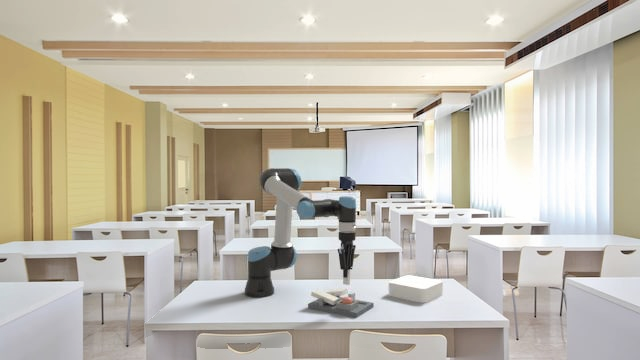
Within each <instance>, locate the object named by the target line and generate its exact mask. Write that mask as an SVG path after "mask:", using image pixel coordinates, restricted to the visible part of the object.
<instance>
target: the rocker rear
mask: <svg viewBox="0 0 640 360" xmlns="http://www.w3.org/2000/svg"><path fill="white" fill-rule="evenodd" d="M322 291H323V290H322ZM323 292H326V293H328V294H332V295H333V296H340V297H342V296H344V295H346V294H349V293H348V289H347V288H338V289H328V290H327V289H326V290H324V291H323Z"/></svg>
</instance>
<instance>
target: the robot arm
mask: <svg viewBox="0 0 640 360" xmlns="http://www.w3.org/2000/svg"><path fill="white" fill-rule="evenodd" d="M258 181H259V185H260V188H261V190H263V191H264V192H266V193H267V194H268V195H273V196H275V197H276V203H275V204H276V205H275V220H274V222H275V223H274V224H275V225H274V238H273V240H272V242H271V244H270V246H267V245H265V246H256V247H253V248H251V249H250V250H248V251H247V281H246V284H245V287H244V295H245V296H247V297H250V298H251V297H252V298H262V297H264V298H265V297H270V296H272V295H273V294H275V287H274V284H273V281H272V274H271V273H272V272H274V271H281V270H287V269H289V268H292V267H293V266H294V265H295V264H296V261H297V258H298V257H297V256H298V255H297V250H296V248H295V247H294V244H293V243H292V242H291V234H292V233H291V232H292V221H293V220H292V219H293V216H292V215H293V209H295V210H296V214H297V215H298V217H299V218H301V219H314V218H326V217H336V218H337V217H338V231H339V232H338V240H339V241H340V247H339V248H337V252H338V253H337V254H338V260H339V268H340V270H342V285H346V286H349V285H351V270H353V267H354V259H355V250H356V247H357V246H356V245H355V244H354V242H355V240H356V237H357V235H356V227H357V223H356V219H357V218H356V217H357V215H356V213H357V202H356V200H357V199H356V197H354V196H348V195H347V196H345V195H344V196H339V198H338V199H330V198H326V199H321V200H318V199H317V200H313V199H311V198H309V197H307V196H306V195H304V194H303V193H301V192H299V191H298V190H300V188H301V186H302V177H301V175H300V173H299V171H298V170H296V169H295V168H286V167H285V168H283V167H282V168H268V169H265V170H264V171H263V172H262V173H261V174H260V176H259V180H258Z"/></svg>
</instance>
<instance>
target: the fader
mask: <svg viewBox="0 0 640 360" xmlns="http://www.w3.org/2000/svg"><path fill="white" fill-rule="evenodd" d="M347 297H351V298H352V300H356V293H355V292H349V293H347Z"/></svg>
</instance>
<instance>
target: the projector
mask: <svg viewBox="0 0 640 360" xmlns="http://www.w3.org/2000/svg"><path fill="white" fill-rule="evenodd" d="M443 283H444V282H443V280H439V279H434V278H430V277H429V278H428V277H422V276H416V275H410V274H407V275H403V276H401V277H397V278H394V279H392V280H389V281H388V296H389V297H393V298H398V299H401V300H402V299H403V300H406V301H407V300H408V301H410V302H411V301H412V302H416V303H420V304H421V303H422V304H423V303H424V304H425V303H429V302H431V301H433V300H435V299H437V298H439V297H442V296H443V293H444V291H443V290H444V288H443V287H444V286H443Z"/></svg>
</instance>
